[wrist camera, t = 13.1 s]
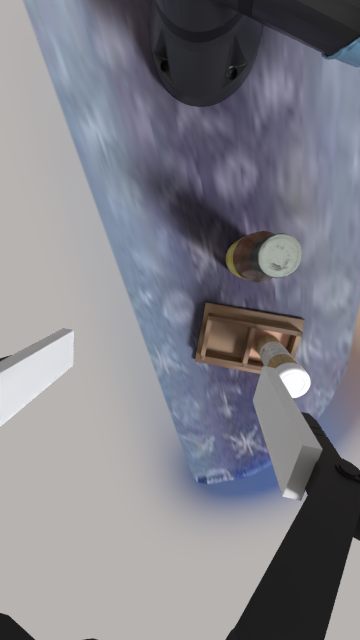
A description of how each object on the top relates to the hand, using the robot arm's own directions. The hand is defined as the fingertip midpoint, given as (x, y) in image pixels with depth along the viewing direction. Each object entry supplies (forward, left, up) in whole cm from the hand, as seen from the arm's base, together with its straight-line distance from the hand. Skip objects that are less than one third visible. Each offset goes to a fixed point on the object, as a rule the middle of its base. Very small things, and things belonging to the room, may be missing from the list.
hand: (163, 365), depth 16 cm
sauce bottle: (-8, +8, -29) cm, 31 cm away
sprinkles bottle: (+7, +16, -28) cm, 33 cm away
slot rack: (+7, +12, -29) cm, 32 cm away
